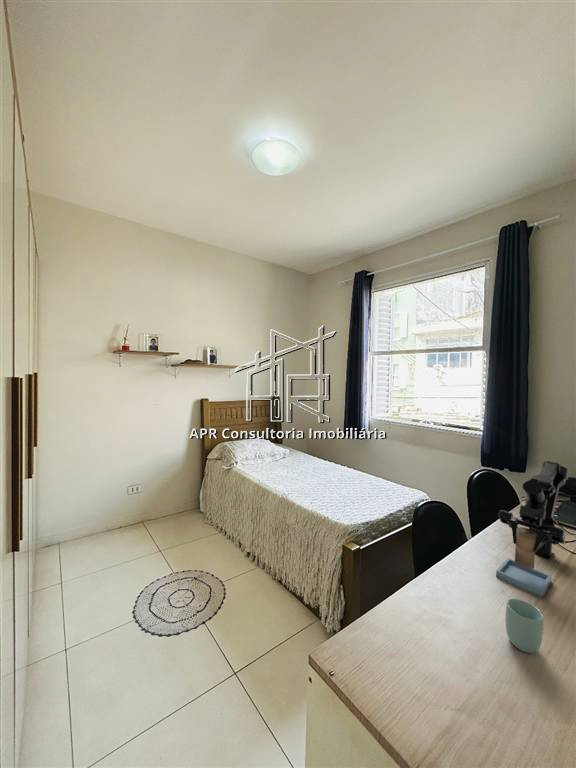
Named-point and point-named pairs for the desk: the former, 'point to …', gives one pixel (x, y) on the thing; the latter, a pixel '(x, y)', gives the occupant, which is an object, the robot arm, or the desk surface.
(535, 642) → the cup
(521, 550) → the cup
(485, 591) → the desk surface
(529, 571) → the desk tray
